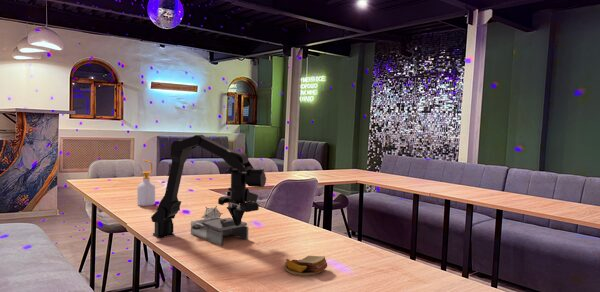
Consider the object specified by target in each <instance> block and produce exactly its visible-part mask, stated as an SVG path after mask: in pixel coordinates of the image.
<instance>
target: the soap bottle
mask: <svg viewBox="0 0 600 292" xmlns="http://www.w3.org/2000/svg"><path fill="white" fill-rule="evenodd" d="M142 161H143V162H145V163H149V164H150V171H141V174H143V175H144V177H142V178H143V179H142V182H140V183H139V184H138V185H137V187H136V188H137V190H136V193H137V198H136V199H137V205H138V206H140V207H149V206H154V205H155V204H156V185H155V184H154V183H153V182H151V181H150V180H151V179H150V178H151V177H149V175H150V174H151V173H153V163H152V162H151V161H149V160H147V159H142Z"/></svg>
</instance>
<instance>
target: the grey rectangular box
mask: <svg viewBox="0 0 600 292" xmlns="http://www.w3.org/2000/svg"><path fill="white" fill-rule="evenodd" d="M219 219H224V218H223V217H221V216H220V217H213V218H207V219H204V218H202V219H196V220H191V221H190V234H191V235H193V236H196V237H198V238H200V239H202V240H205V241H207V242H210V243H213V244H215V245H217V246H220V247H222V246H223V243H224V242H223V241H224V239H223V238H224V237H227V236H235V237H238V238H240V239H243V240H245V241H247V240H249V226H248V225H247V226H242V227H237V228H232V229H227V230H222V231H218V230H215V229H212V228H210V227H207V226H204V225H202V222H207V221H213V220H219Z"/></svg>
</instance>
